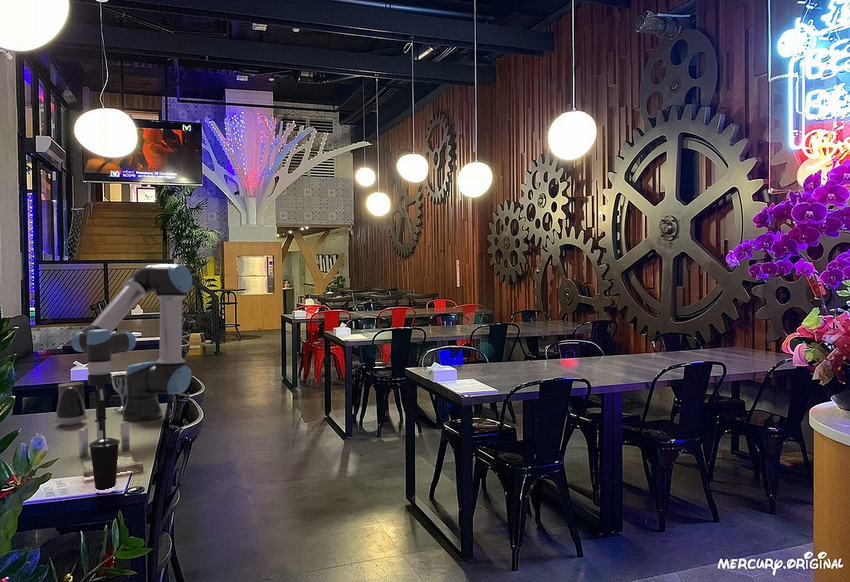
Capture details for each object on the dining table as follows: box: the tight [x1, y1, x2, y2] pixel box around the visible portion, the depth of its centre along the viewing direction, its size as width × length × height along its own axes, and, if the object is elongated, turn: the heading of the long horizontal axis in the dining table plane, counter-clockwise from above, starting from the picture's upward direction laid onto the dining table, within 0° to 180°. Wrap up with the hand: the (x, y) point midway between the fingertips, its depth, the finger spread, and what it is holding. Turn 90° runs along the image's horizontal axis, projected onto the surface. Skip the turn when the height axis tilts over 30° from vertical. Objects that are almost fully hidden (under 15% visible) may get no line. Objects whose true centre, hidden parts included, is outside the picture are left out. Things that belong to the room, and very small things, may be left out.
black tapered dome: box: [56, 387, 86, 426], centre depth 250 cm, size 10×10×15 cm
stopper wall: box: [82, 461, 144, 477], centre depth 185 cm, size 16×2×2 cm, turn 122°
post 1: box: [78, 427, 89, 458], centre depth 205 cm, size 3×3×9 cm
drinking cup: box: [88, 420, 121, 490], centre depth 171 cm, size 8×8×20 cm
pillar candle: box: [57, 380, 86, 408], centre depth 266 cm, size 10×10×15 cm
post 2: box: [120, 422, 131, 452], centre depth 212 cm, size 3×3×9 cm
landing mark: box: [82, 453, 132, 467], centre depth 197 cm, size 14×14×1 cm
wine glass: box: [111, 373, 127, 409], centre depth 278 cm, size 8×8×15 cm
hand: (101, 438), depth 220 cm, fingers closed
